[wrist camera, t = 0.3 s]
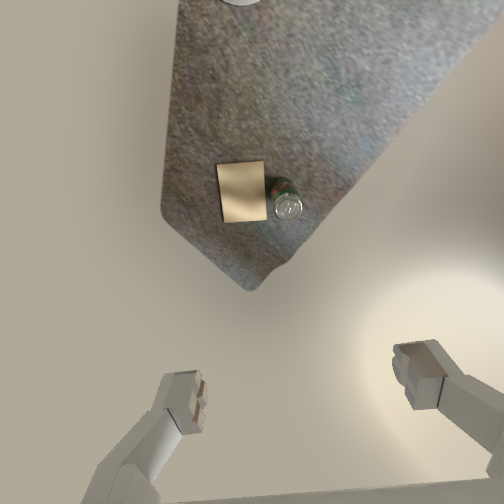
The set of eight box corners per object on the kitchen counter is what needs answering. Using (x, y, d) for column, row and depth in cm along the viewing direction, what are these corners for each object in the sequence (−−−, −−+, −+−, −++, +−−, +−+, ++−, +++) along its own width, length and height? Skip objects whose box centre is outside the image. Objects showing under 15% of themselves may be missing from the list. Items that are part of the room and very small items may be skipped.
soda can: (265, 196, 55) (268, 216, 44) (276, 173, 52) (281, 189, 42) (287, 205, 56) (295, 228, 45) (298, 183, 53) (310, 201, 43)
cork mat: (217, 164, 52) (216, 164, 51) (263, 160, 51) (263, 161, 51) (224, 221, 57) (224, 222, 57) (266, 218, 57) (266, 219, 56)
